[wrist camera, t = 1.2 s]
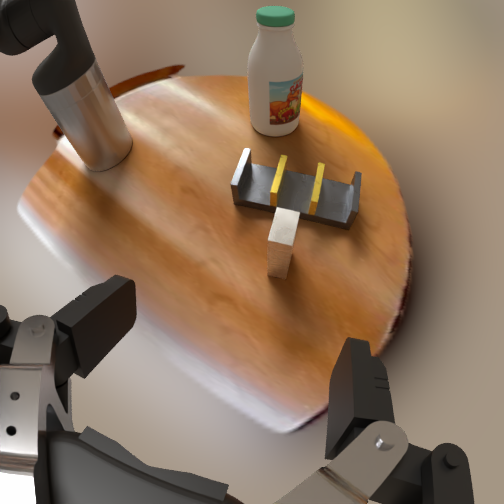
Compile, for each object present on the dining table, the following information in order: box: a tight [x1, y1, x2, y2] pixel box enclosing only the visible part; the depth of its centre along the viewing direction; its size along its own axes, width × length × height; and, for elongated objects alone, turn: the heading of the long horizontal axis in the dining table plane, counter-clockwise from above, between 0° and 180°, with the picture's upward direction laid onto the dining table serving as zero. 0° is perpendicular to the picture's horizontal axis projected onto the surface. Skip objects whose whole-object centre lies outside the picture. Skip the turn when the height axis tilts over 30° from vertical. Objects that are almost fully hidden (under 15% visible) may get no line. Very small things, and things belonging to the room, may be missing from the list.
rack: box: [231, 148, 362, 230], centre depth 37 cm, size 6×15×4 cm, turn 75°
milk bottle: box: [248, 6, 303, 137], centre depth 36 cm, size 8×8×20 cm
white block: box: [267, 207, 300, 280], centre depth 32 cm, size 4×2×10 cm, turn 165°
